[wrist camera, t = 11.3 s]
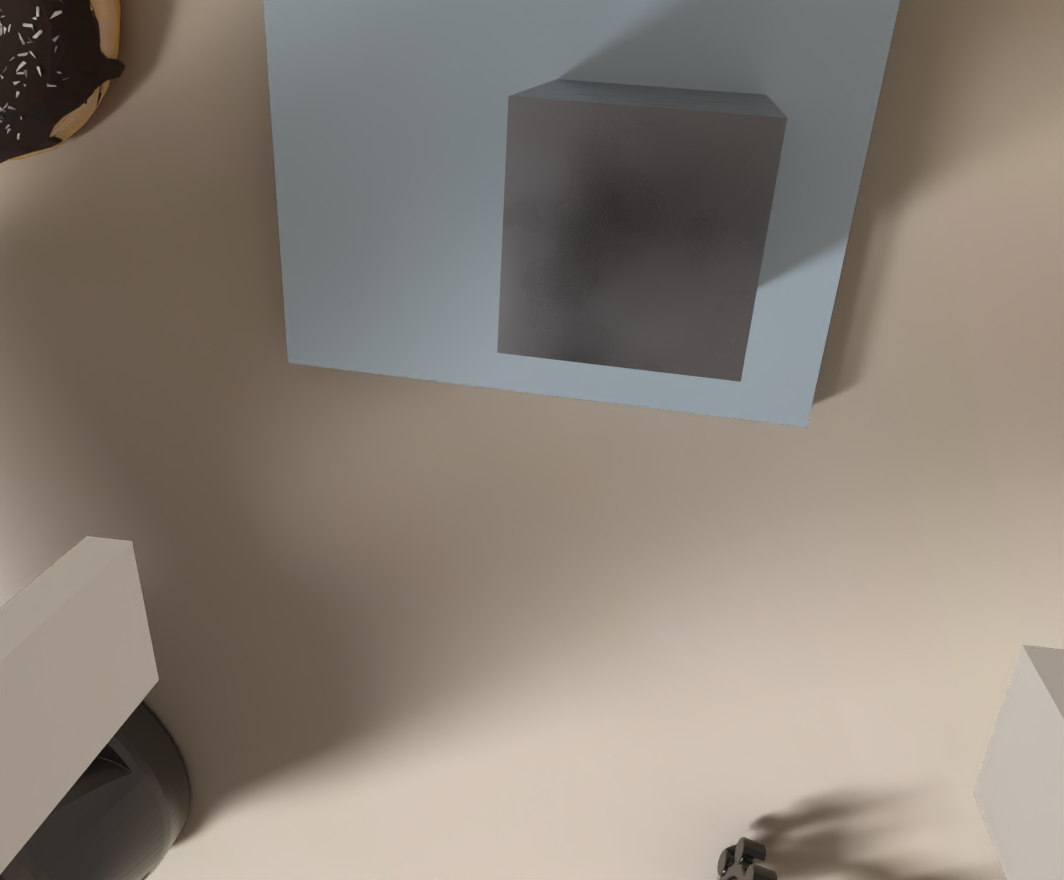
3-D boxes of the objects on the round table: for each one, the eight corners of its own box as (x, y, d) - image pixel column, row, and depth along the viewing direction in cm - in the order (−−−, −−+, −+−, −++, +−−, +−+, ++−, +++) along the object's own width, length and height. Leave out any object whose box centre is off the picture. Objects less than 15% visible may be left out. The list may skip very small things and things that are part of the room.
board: (305, 349, 32) (217, 419, 26) (279, -91, 26) (158, -125, 20) (802, 409, 30) (825, 501, 24) (902, -59, 24) (966, -88, 18)
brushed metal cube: (543, 280, 28) (497, 352, 22) (556, 79, 25) (508, 95, 19) (732, 300, 27) (740, 381, 21) (766, 94, 25) (787, 117, 18)
